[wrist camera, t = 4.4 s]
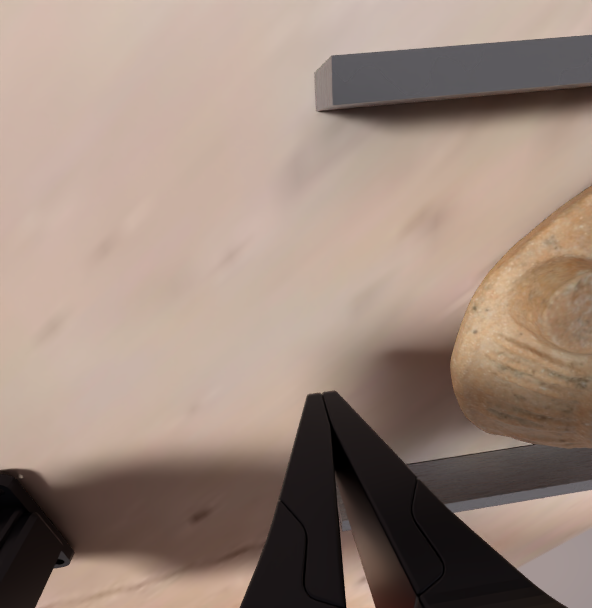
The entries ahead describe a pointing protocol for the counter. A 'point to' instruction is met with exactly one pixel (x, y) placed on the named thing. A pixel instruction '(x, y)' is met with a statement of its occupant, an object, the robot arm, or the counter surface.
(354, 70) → the steel chute
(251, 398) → the counter surface
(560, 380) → the pottery oil lamp
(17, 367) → the counter surface
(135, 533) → the counter surface
